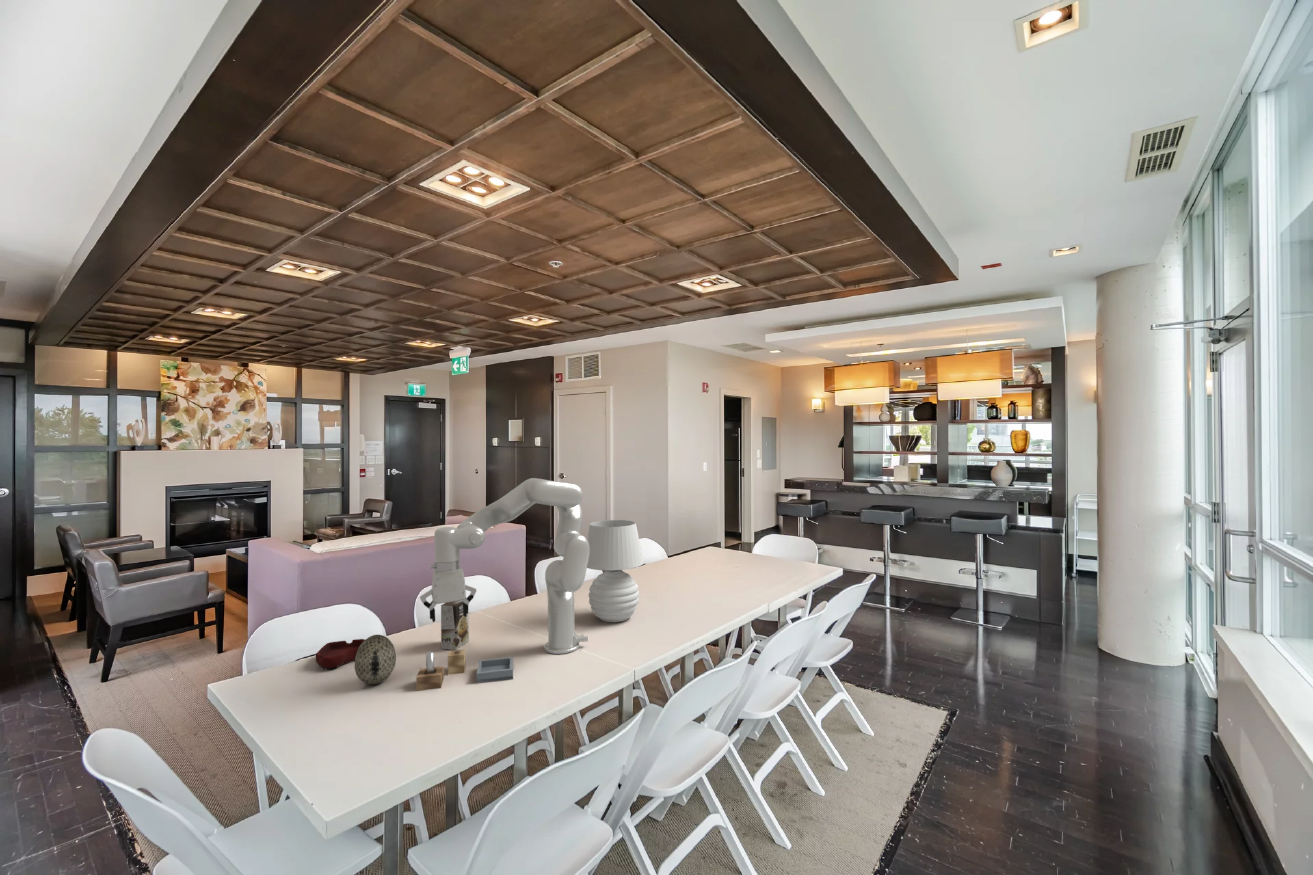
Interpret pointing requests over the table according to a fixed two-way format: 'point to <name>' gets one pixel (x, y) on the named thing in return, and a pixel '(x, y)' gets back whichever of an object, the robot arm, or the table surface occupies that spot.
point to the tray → (495, 670)
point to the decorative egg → (375, 659)
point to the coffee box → (454, 625)
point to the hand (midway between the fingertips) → (449, 618)
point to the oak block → (456, 662)
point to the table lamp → (614, 568)
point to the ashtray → (337, 653)
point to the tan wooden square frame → (430, 679)
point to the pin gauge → (430, 662)
